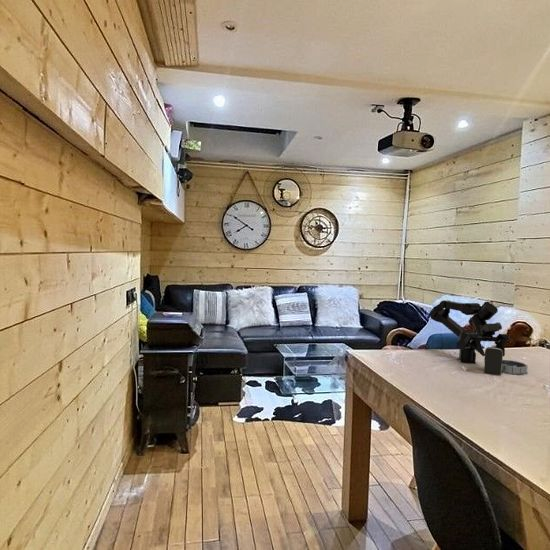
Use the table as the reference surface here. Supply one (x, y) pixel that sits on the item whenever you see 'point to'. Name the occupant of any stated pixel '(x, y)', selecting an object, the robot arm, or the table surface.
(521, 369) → the grey faceted round container
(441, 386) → the table surface
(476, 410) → the table surface
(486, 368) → the battery charger
